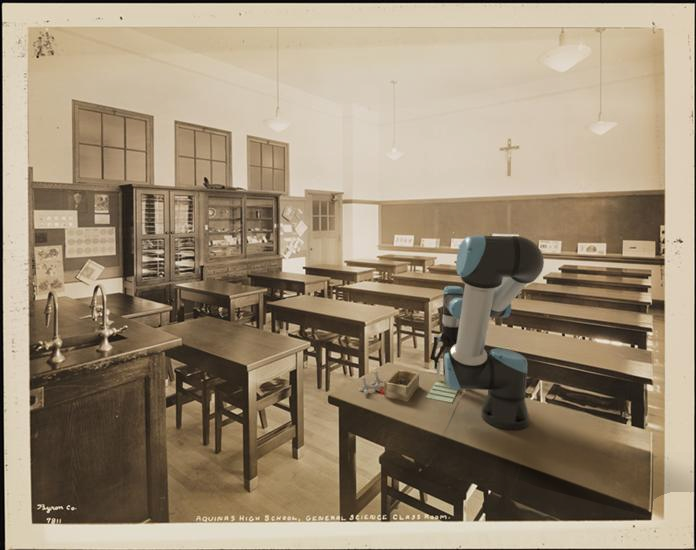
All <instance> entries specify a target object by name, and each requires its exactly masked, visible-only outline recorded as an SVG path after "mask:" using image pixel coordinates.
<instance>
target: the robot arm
mask: <svg viewBox="0 0 696 550" xmlns="http://www.w3.org/2000/svg"><path fill="white" fill-rule="evenodd" d="M543 255H544V254H543V252H542V250H541V249H540V247H539V246H538V245H537V244H536V243H535V242H534V241H532V240H531V239H529V238H528V237H524V236H518V235H513V236H511V235H508V236H507V235H482V234H479V235H470V236H466V237H464V239H463V240H462V241H461V243H460V245H459V248H458V251H457V255H456V264H455V267H456V268H455V271H456V273H457V275H458V276H460V280H461V282H462V283H463V284H464V287H462V286H458V285H447V286H445V287H444V288H443V301H442V302H443V303H442V305H443V307H442V319H441V321H442V326H441V335H439V336H438V335H435V336H434V337H433V345H432V350H431V354H430V357H429V358H430V360H431V361H433V362H434V370H436V379H439V378H440V375H441V360H440V358H441V356H442V354H443V352H444V351H445V349H446V348H451V349H450V352H445V353H444V356H443V363H444V365H443V366H444V371H445V372H444V374H446V380H447V383H448V385H449V387H451V388H454V389H459V390H482V391H484V390H485V391H487V396H486V398H485V400H484V402H483V405H482V407H481V412H480V415H481V416H480V417H481V418H482V420H484V422H486V423H488V424H489V425H491V426H494V427H496V428H498V429H499V428H500V429H504V430H510V431H511V430H513V431H517V430H519V431H520V430H523V429H526V428H527V427H528V426H529V424H530V414H529V410H528V407H527V403H526V391H527V377H528V372H529V371H528V361H527V358H526V357H525V356H524V355H523V354H520V353H519V352H516V351H513V350H511V349H505V348H492V349H491V350H490V351H489V354H488V353H487V351H486V350H485V344H486V338H487V333H488V330H489V329H488V327H489V323H490V319H491V318H493V319H494V318H496V319H501V318H508V317H509V316H510V315H511V312H512V302H513V301H514V299H516V297H517V296H519V294H520V293H521V292H522V290H523V289H524V288H525V287H526V286H527V285H528V284H531V283H533V282H535V281H536V280H537V279H538V278H539V276H540V275H541V274H542V272H543V268H544V263H545V260H544V256H543ZM440 341H442V346H441V348H440V349H439V351H438V353H437V354H436V352H437V348H438V344H439V342H440Z"/></svg>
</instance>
